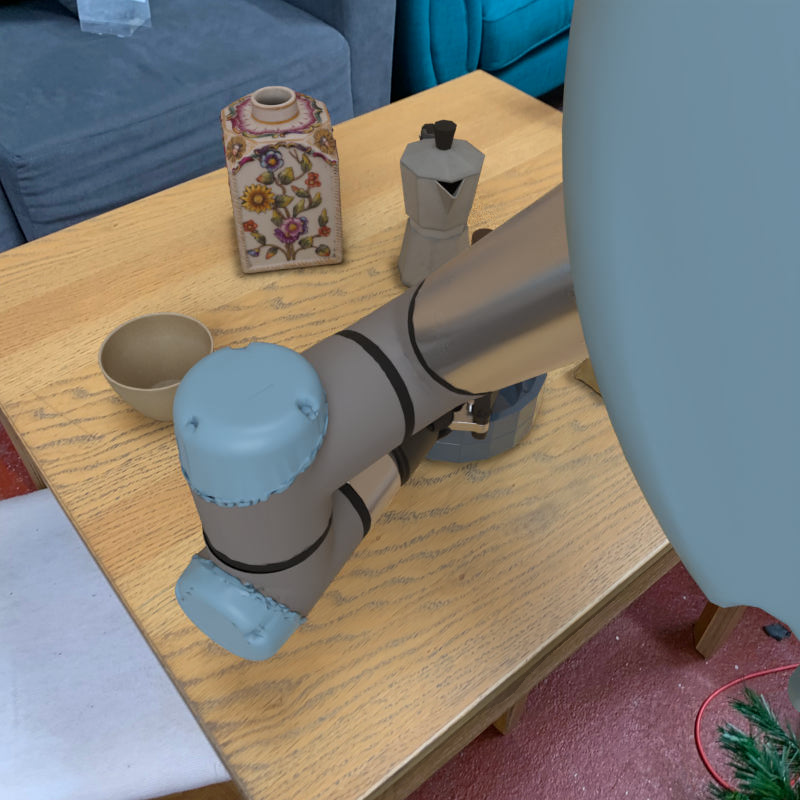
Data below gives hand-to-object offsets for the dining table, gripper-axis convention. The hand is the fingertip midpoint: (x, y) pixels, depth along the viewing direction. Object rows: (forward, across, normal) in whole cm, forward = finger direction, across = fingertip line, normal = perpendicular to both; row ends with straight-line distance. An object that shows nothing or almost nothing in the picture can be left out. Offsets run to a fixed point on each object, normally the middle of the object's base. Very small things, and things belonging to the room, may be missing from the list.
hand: (505, 278), depth 68 cm
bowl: (-5, -2, -12) cm, 13 cm away
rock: (+5, +13, -12) cm, 19 cm away
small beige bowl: (-20, -24, -12) cm, 34 cm away
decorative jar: (+7, -30, -12) cm, 34 cm away
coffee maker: (+12, -14, -12) cm, 22 cm away
